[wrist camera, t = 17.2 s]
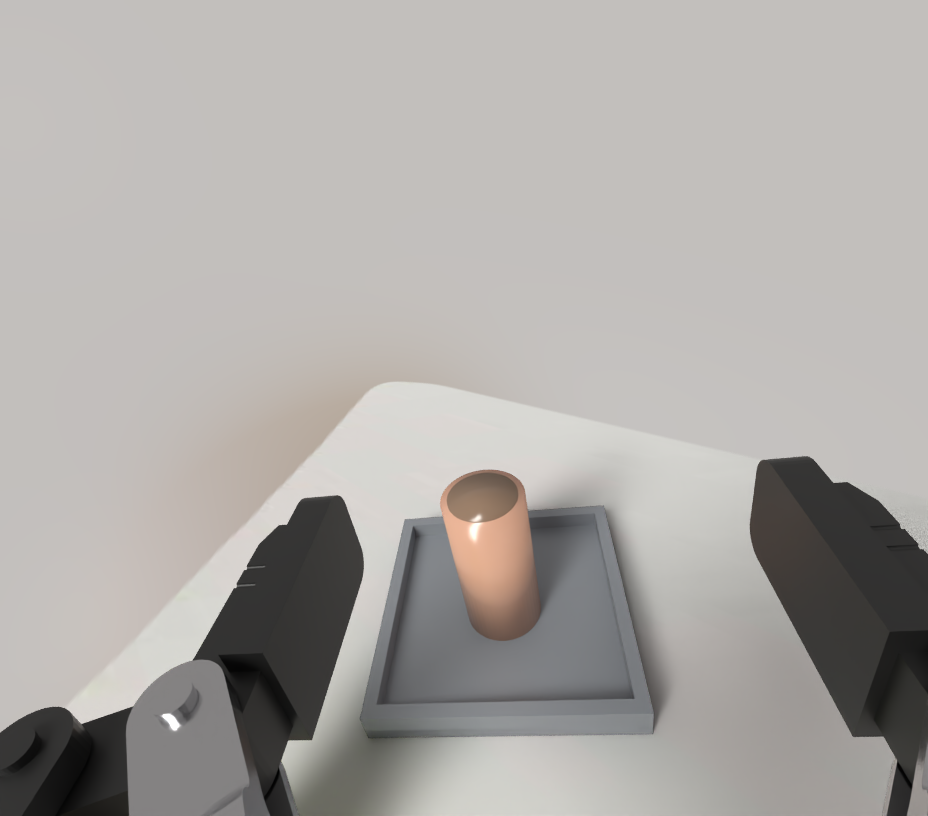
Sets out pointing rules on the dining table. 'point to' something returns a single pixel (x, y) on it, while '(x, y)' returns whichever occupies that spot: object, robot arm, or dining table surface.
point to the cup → (493, 552)
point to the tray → (509, 643)
